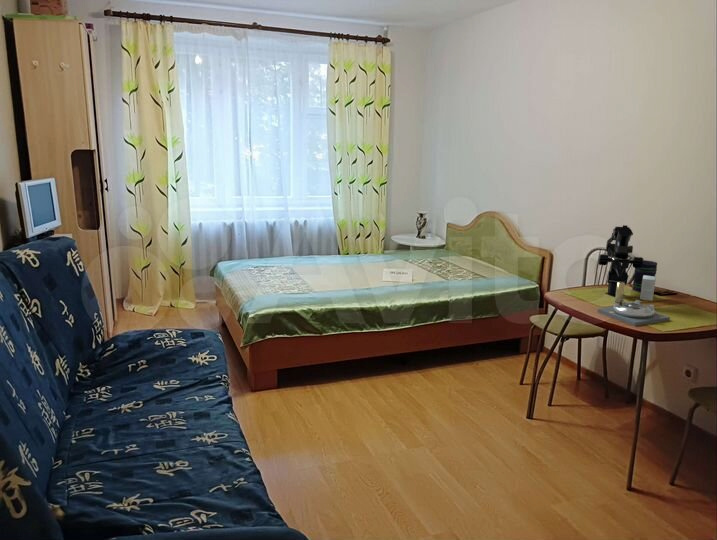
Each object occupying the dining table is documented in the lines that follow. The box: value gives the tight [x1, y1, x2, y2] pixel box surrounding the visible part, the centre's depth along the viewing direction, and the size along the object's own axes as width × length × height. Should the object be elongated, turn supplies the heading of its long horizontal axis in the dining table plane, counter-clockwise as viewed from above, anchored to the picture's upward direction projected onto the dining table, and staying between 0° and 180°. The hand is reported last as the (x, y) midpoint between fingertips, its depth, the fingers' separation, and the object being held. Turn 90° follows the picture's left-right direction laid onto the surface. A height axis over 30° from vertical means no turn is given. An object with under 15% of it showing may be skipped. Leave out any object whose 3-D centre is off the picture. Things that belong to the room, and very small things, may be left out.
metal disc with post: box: [612, 282, 656, 318], centre depth 229 cm, size 16×16×12 cm
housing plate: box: [597, 306, 671, 327], centre depth 230 cm, size 20×20×2 cm
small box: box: [639, 275, 657, 301], centre depth 256 cm, size 8×6×10 cm
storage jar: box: [632, 259, 658, 293], centre depth 269 cm, size 10×10×15 cm
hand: (619, 276), depth 245 cm, fingers closed
